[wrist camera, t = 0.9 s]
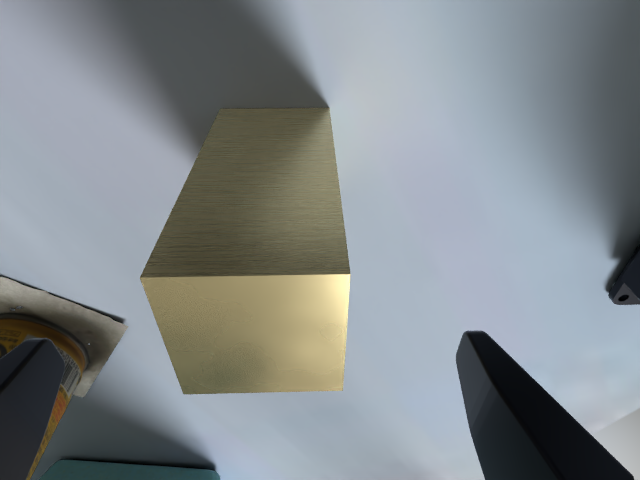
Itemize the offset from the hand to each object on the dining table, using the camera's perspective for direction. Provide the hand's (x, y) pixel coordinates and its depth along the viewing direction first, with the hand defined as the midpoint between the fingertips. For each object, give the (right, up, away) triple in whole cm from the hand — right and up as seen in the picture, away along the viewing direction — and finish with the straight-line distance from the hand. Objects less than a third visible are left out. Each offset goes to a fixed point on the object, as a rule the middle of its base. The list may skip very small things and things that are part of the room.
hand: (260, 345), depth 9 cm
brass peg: (0, +6, +7) cm, 9 cm away
